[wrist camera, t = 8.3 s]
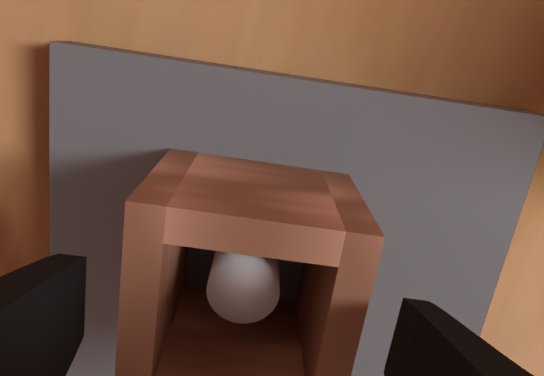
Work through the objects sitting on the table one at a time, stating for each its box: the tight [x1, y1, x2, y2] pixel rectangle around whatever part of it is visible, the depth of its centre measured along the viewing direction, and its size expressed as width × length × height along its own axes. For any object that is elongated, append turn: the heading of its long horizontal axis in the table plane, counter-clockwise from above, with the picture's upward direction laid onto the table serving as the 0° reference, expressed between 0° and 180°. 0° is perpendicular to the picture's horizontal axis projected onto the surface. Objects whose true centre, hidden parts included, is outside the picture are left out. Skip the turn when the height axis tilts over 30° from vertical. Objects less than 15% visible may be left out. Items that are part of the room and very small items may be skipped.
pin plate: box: [49, 41, 544, 376], centre depth 15 cm, size 14×17×4 cm
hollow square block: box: [115, 148, 385, 376], centre depth 12 cm, size 5×5×4 cm
